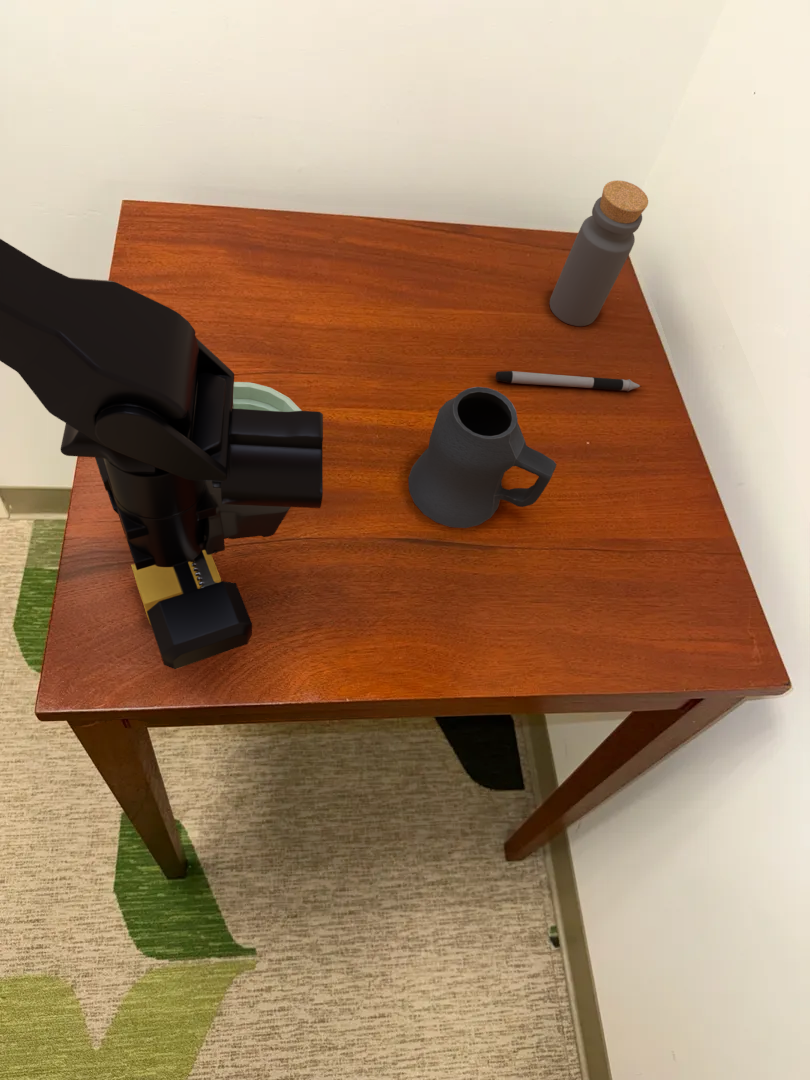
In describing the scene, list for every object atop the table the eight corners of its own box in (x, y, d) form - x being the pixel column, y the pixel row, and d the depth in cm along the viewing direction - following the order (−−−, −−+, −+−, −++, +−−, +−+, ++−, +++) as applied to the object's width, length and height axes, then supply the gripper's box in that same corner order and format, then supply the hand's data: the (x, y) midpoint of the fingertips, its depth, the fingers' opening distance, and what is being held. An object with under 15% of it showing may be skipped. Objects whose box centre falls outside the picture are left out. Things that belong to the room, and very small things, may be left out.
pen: (494, 375, 82) (497, 367, 80) (638, 385, 84) (643, 377, 83) (495, 385, 81) (499, 376, 80) (640, 394, 84) (645, 386, 83)
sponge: (150, 625, 61) (144, 604, 58) (137, 587, 63) (130, 564, 59) (223, 601, 63) (221, 579, 60) (209, 565, 65) (206, 542, 61)
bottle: (541, 311, 88) (590, 196, 75) (559, 283, 91) (609, 168, 78) (587, 334, 87) (644, 222, 74) (603, 305, 90) (661, 193, 77)
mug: (392, 500, 71) (413, 425, 62) (430, 434, 76) (456, 355, 66) (509, 557, 70) (549, 490, 61) (540, 487, 75) (582, 414, 65)
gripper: (331, 564, 48) (314, 655, 61) (233, 350, 55) (237, 473, 69) (152, 622, 44) (176, 706, 57) (72, 384, 52) (109, 507, 65)
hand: (179, 589), depth 62 cm, fingers open, 8 cm apart
